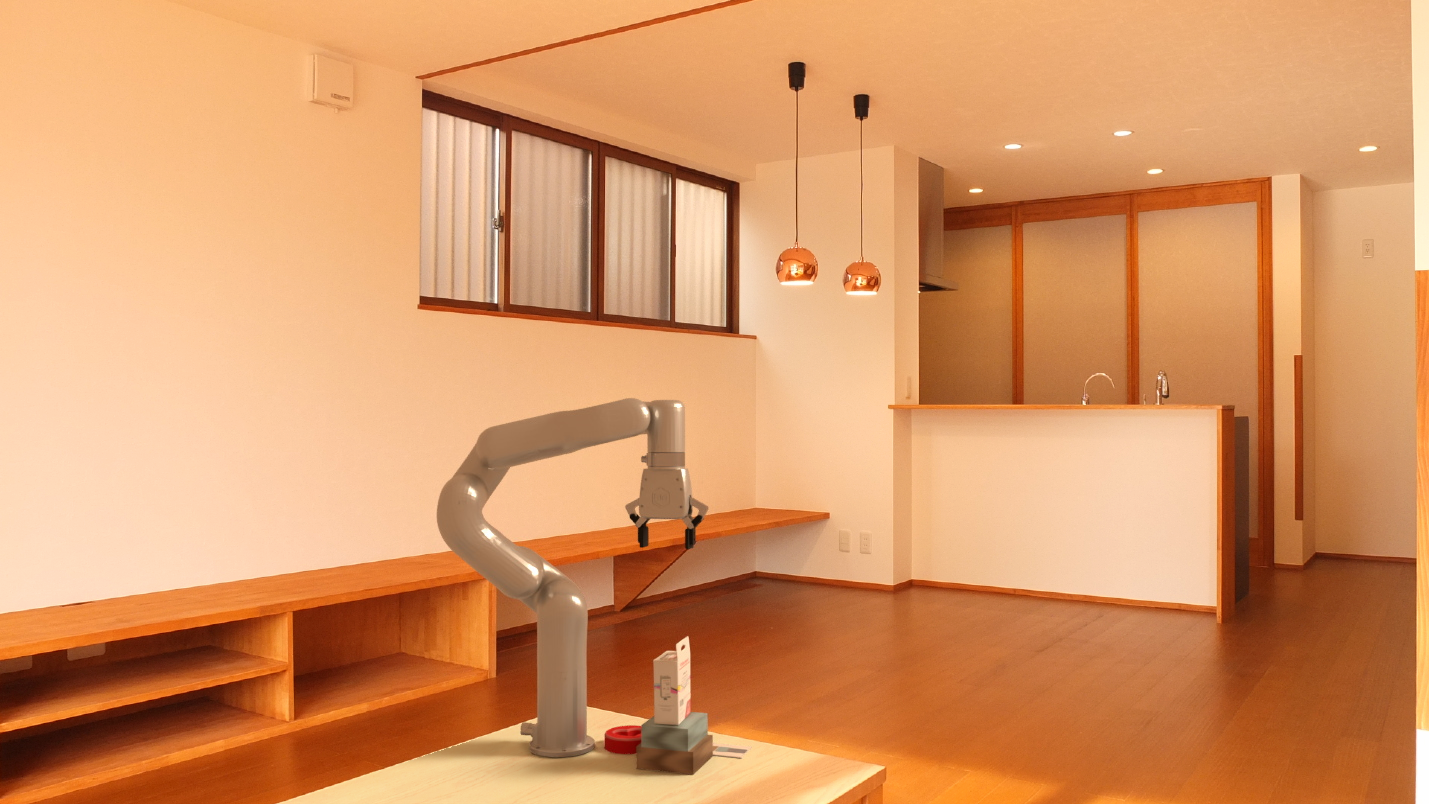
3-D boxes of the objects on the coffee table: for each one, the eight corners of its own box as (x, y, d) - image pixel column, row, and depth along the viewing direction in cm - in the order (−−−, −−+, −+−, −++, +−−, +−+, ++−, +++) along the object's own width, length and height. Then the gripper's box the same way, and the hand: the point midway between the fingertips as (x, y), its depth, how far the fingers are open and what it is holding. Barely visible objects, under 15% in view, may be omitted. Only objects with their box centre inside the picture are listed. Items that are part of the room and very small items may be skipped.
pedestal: (636, 768, 189) (636, 724, 189) (658, 751, 199) (658, 709, 199) (693, 774, 185) (693, 729, 186) (712, 756, 196) (712, 713, 196)
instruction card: (691, 753, 198) (691, 752, 198) (703, 742, 204) (703, 741, 204) (741, 758, 194) (741, 756, 194) (751, 747, 201) (751, 746, 201)
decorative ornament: (623, 759, 195) (623, 742, 195) (594, 747, 203) (594, 731, 203) (663, 748, 202) (663, 732, 202) (634, 737, 209) (634, 721, 209)
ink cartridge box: (666, 711, 197) (666, 634, 198) (691, 713, 196) (691, 635, 197) (652, 724, 189) (652, 643, 189) (678, 726, 188) (678, 644, 188)
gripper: (618, 462, 206) (619, 548, 205) (701, 462, 200) (701, 551, 200) (633, 461, 213) (633, 544, 212) (713, 461, 207) (713, 547, 207)
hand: (666, 547), depth 206 cm, fingers open, 9 cm apart
